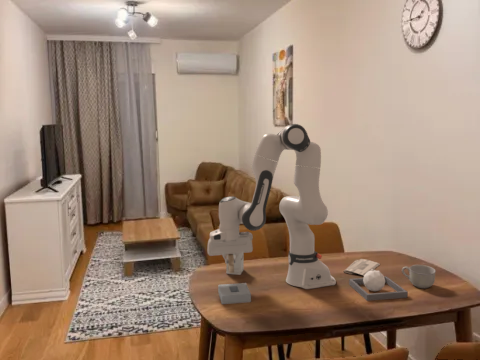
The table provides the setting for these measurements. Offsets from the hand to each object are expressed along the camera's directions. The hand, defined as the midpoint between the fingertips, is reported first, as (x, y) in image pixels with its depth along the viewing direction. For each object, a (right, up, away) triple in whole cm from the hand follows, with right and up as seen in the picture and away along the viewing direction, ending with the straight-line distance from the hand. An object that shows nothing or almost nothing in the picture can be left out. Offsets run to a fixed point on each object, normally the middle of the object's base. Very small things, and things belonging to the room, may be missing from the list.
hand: (230, 262), depth 197 cm
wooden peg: (0, -4, +1) cm, 4 cm away
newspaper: (+64, -8, +21) cm, 68 cm away
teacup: (+84, -10, -1) cm, 84 cm away
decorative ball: (+61, -11, -6) cm, 63 cm away
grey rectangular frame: (+64, -11, -7) cm, 65 cm away
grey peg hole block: (+2, -12, -13) cm, 18 cm away
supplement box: (+2, -8, +17) cm, 19 cm away
